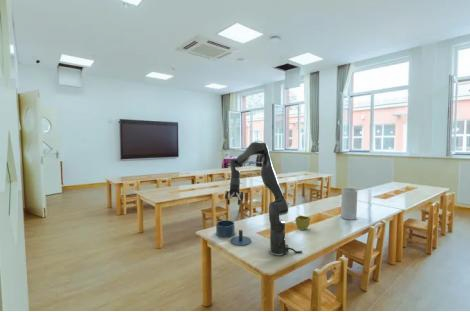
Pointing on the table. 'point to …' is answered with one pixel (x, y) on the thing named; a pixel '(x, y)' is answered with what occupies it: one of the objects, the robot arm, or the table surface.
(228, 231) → the pot
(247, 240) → the lid
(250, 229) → the table surface
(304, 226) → the flower pot
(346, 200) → the cylinder vase
